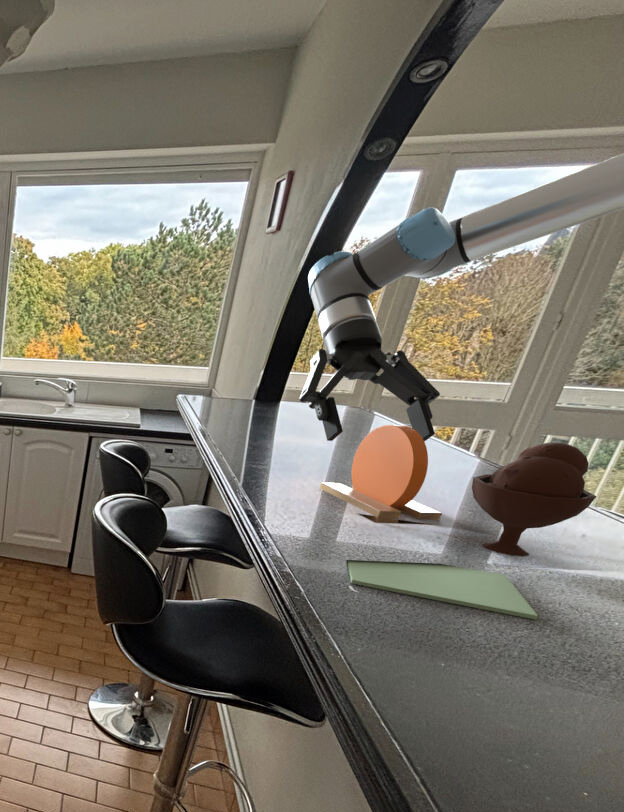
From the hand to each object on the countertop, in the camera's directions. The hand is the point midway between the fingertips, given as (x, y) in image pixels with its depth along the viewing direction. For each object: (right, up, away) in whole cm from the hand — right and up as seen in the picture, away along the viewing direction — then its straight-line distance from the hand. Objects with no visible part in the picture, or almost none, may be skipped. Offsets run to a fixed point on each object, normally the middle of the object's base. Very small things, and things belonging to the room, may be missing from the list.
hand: (380, 437), depth 93 cm
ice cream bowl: (+4, -18, -15) cm, 24 cm away
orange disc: (0, -11, +1) cm, 11 cm away
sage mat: (-12, -21, -22) cm, 33 cm away
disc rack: (0, -12, +1) cm, 12 cm away
